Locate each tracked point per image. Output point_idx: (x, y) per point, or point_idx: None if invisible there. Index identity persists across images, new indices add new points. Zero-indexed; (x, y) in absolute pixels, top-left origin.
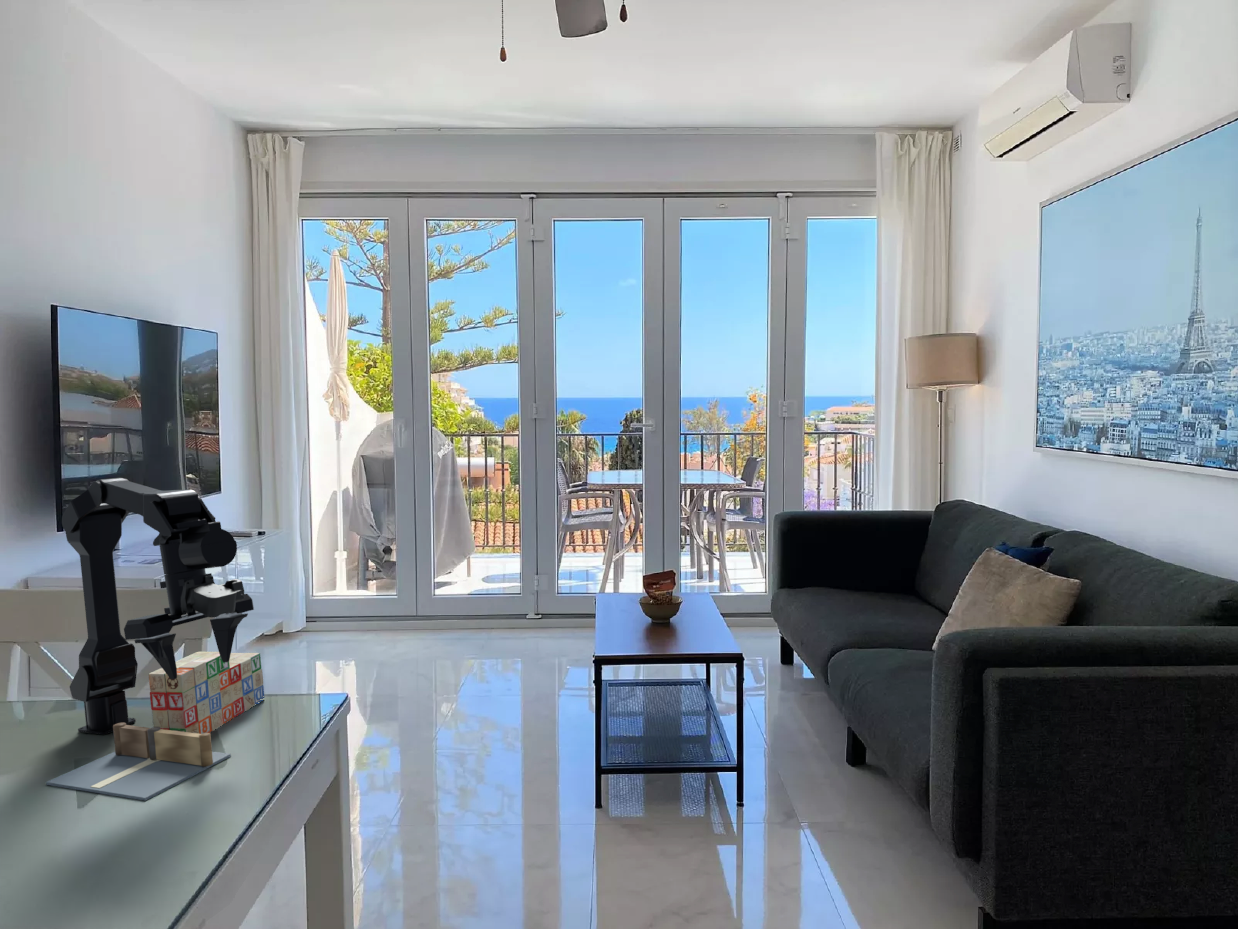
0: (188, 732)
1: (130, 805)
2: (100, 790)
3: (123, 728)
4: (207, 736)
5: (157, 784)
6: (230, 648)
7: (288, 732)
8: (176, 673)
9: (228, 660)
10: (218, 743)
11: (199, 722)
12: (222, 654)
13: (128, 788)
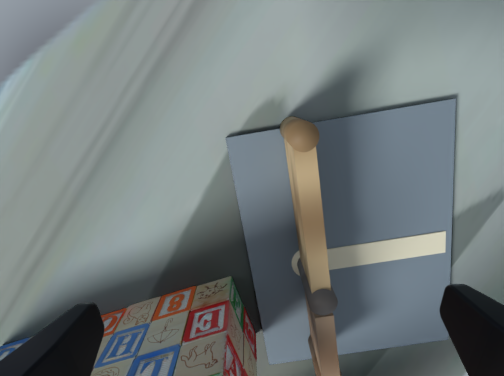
0: (301, 207)
1: (475, 108)
2: (451, 220)
3: (339, 370)
4: (305, 121)
5: (398, 139)
6: (1, 368)
7: (70, 135)
8: (475, 299)
9: (82, 304)
10: (193, 228)
11: (187, 308)
12: (78, 369)
13: (430, 178)
